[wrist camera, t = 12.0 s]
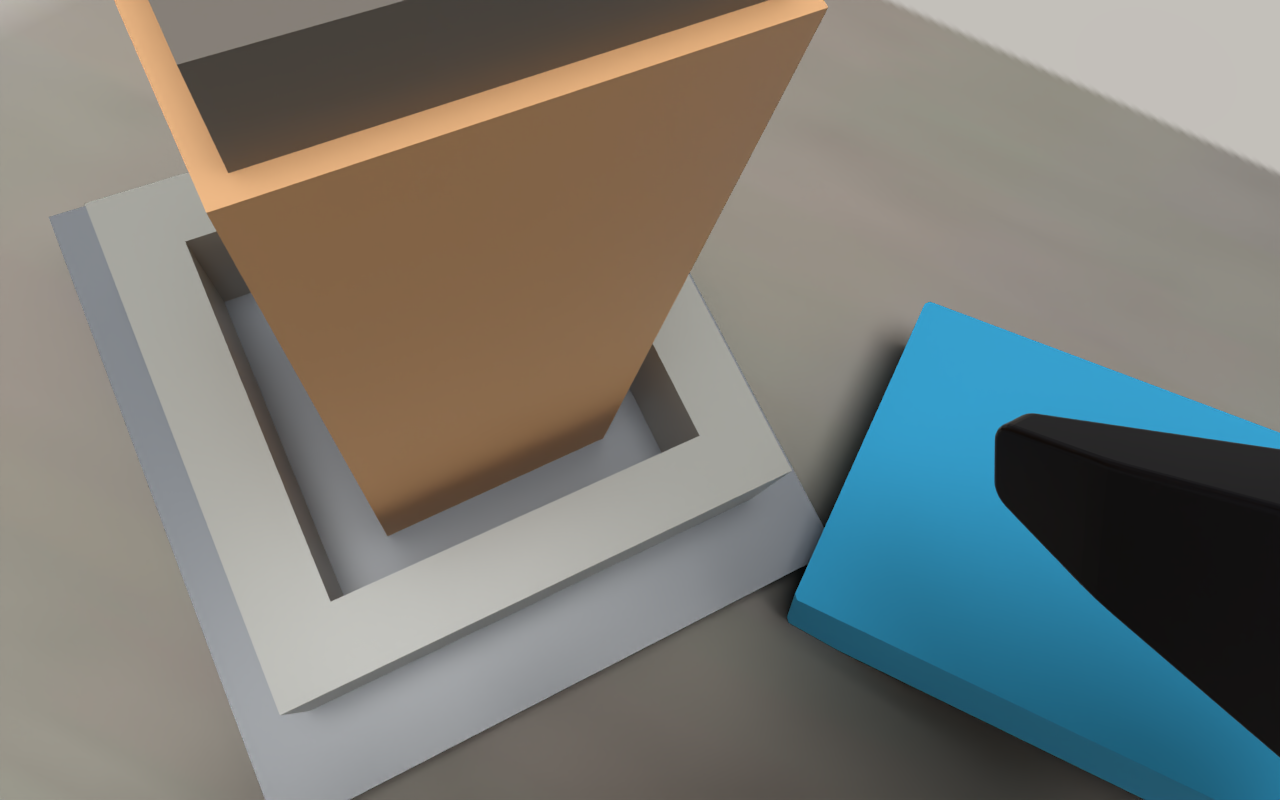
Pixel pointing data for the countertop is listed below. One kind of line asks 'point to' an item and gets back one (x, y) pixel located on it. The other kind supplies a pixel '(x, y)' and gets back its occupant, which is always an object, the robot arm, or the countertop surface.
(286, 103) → the block
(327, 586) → the jig cradle
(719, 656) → the countertop surface
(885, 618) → the blue block
